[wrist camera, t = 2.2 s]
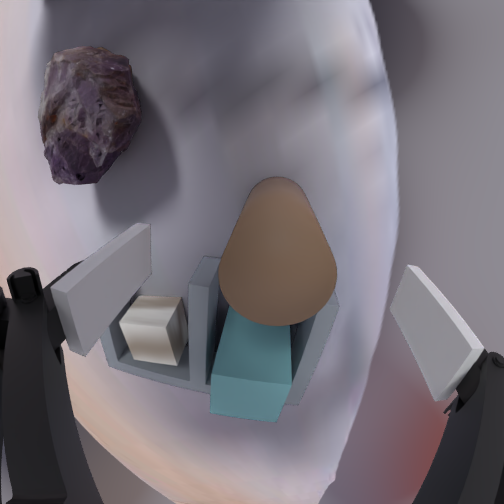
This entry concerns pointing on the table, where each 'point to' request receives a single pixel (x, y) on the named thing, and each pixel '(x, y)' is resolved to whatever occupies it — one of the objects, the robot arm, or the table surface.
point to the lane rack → (203, 340)
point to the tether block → (268, 298)
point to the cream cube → (156, 329)
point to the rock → (87, 113)
